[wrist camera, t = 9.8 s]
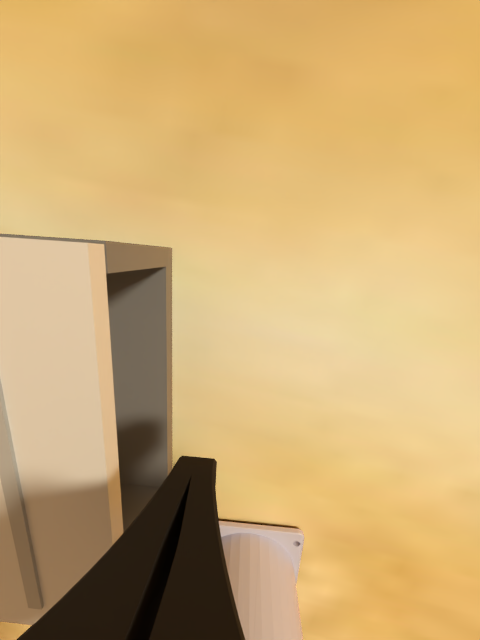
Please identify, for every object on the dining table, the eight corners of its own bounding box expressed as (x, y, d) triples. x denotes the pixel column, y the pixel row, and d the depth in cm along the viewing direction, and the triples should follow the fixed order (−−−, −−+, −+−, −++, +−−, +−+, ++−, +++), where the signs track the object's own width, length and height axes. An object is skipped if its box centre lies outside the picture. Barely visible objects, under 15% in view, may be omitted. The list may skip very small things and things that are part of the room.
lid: (128, 610, 12) (118, 639, 11) (-18, 594, 12) (-39, 620, 11) (104, 244, 8) (84, 242, 7) (-119, 228, 8) (-166, 225, 7)
